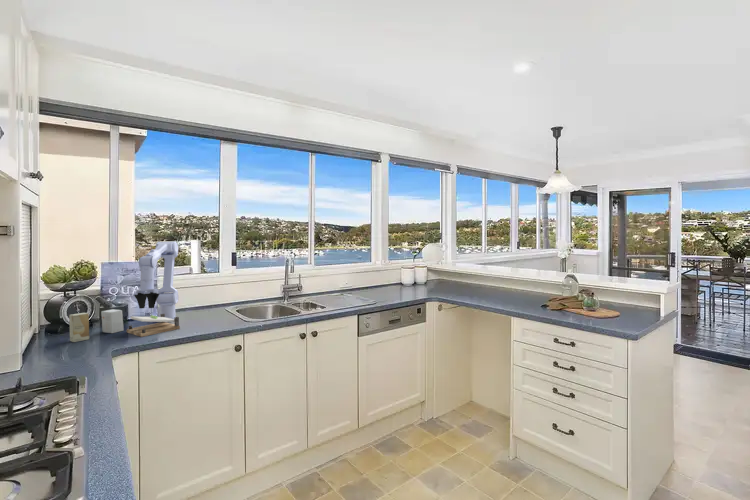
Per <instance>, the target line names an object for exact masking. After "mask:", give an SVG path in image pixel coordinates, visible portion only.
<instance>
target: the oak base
mask: <svg viewBox="0 0 750 500" xmlns="http://www.w3.org/2000/svg"><path fill="white" fill-rule="evenodd" d="M161 317H165V314H161ZM179 317H180V316H176V317H174V322H173V323H172V322H157V323H151V324H146V325H141V326H136V327H133V325H132V324H131V325H128V328H126V333H127V334H131V335H133V336H136V337H137V336H138V337H140V338H143V337H147V336H152V335H156V334H162V333H166V332H171V331H174V330H175V331H176V330H180V328H181V327H180V318H179Z"/></svg>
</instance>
